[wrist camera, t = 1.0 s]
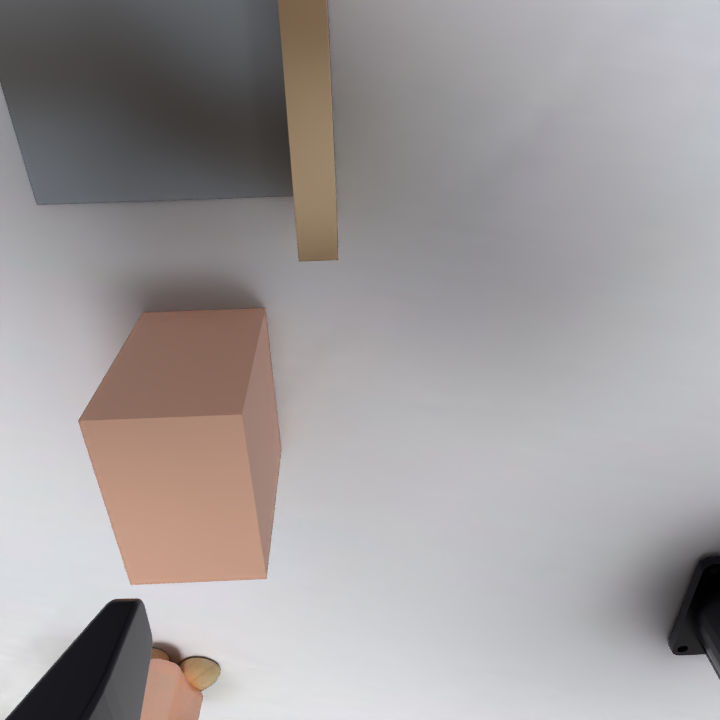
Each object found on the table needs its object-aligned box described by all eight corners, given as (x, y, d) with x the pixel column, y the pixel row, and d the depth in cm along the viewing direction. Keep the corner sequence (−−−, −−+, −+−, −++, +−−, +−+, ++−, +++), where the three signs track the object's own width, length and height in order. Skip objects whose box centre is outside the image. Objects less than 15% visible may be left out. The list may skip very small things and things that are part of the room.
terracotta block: (281, 449, 23) (266, 578, 18) (175, 453, 23) (130, 584, 18) (265, 307, 20) (241, 414, 15) (143, 311, 20) (78, 420, 15)
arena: (337, 216, 19) (338, 260, 16) (45, 226, 19) (-11, 272, 16) (313, -325, 13) (307, -421, 10) (-117, -317, 13) (-257, -413, 10)
